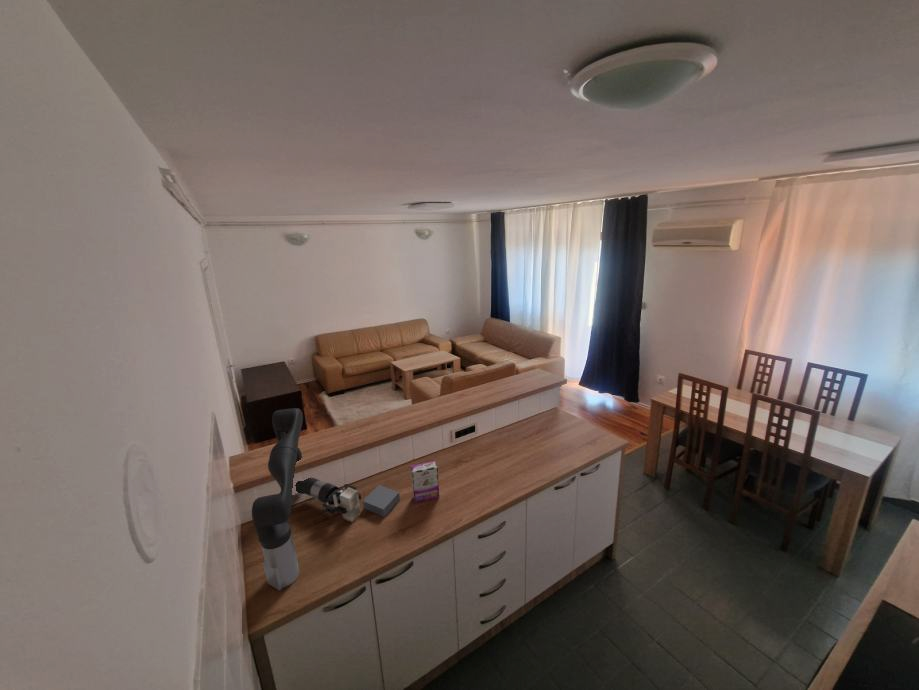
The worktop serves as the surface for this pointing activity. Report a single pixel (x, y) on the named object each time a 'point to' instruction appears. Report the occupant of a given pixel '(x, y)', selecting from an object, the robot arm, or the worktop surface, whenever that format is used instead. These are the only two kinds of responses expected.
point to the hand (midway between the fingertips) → (353, 504)
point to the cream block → (350, 504)
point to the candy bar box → (425, 481)
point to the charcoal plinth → (381, 500)
